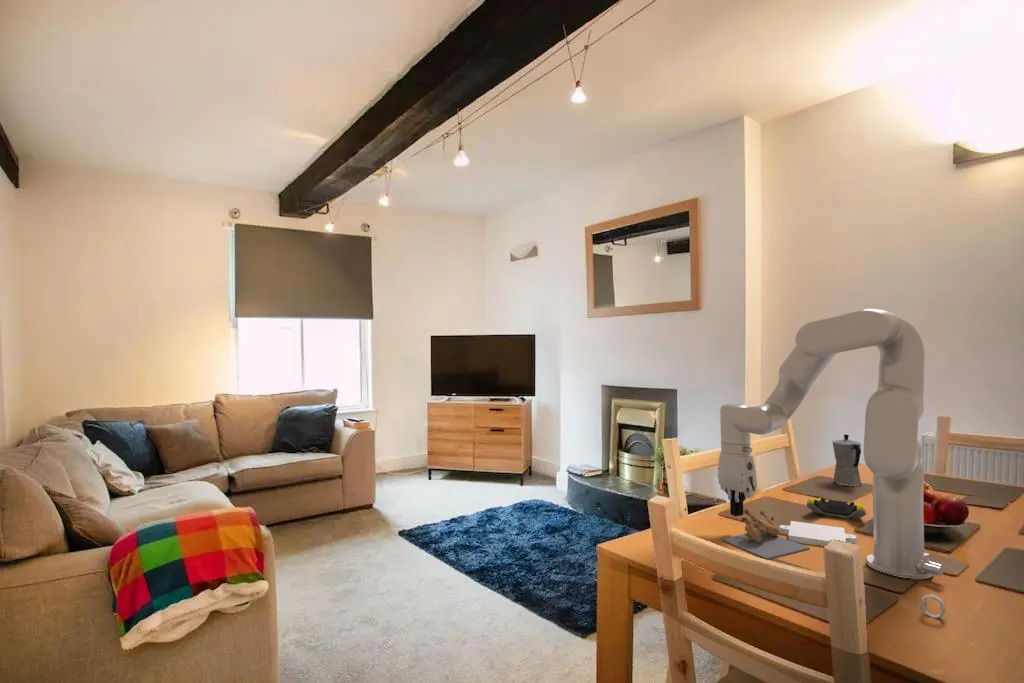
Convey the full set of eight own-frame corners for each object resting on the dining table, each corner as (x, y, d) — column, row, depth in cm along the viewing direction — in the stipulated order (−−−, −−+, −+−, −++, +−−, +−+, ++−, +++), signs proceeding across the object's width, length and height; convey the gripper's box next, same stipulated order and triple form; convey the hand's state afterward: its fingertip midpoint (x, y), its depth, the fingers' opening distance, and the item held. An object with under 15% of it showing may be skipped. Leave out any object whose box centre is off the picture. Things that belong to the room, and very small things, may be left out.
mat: (809, 549, 137) (809, 547, 137) (766, 559, 131) (766, 558, 131) (762, 531, 151) (761, 530, 151) (721, 540, 145) (721, 538, 145)
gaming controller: (865, 526, 154) (867, 516, 162) (865, 506, 154) (866, 498, 162) (806, 517, 163) (810, 508, 171) (805, 498, 163) (809, 491, 171)
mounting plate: (777, 540, 145) (777, 533, 145) (781, 526, 156) (781, 519, 156) (857, 552, 136) (857, 545, 136) (855, 536, 147) (855, 529, 147)
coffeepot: (824, 478, 206) (824, 431, 206) (850, 478, 206) (849, 431, 206) (846, 489, 191) (845, 438, 191) (874, 490, 190) (873, 438, 190)
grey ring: (946, 617, 103) (945, 596, 103) (945, 622, 101) (944, 600, 101) (922, 611, 105) (921, 591, 105) (921, 616, 104) (920, 595, 104)
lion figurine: (727, 524, 147) (750, 547, 140) (735, 508, 146) (758, 531, 138) (768, 523, 153) (792, 546, 145) (775, 508, 151) (800, 529, 143)
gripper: (767, 452, 145) (769, 520, 145) (725, 443, 159) (726, 506, 159) (747, 454, 142) (748, 525, 142) (705, 445, 156) (706, 509, 156)
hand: (736, 514), depth 150 cm, fingers closed
